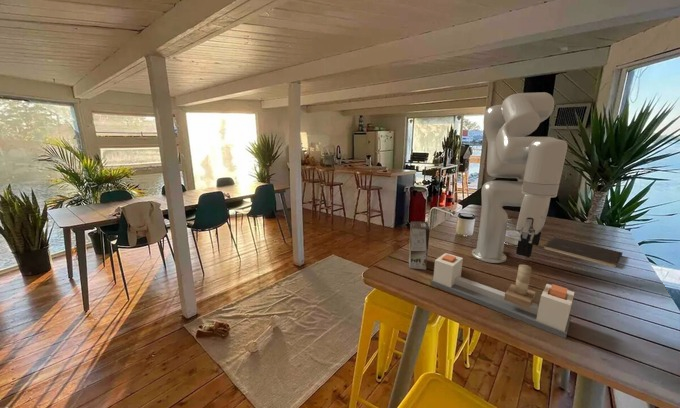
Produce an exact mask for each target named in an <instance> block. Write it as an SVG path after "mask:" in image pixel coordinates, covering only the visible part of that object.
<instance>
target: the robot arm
mask: <svg viewBox="0 0 680 408" xmlns="http://www.w3.org/2000/svg"><path fill="white" fill-rule="evenodd" d="M554 108H555V99H554V97H553V95H552V94H550V93H548V92H545V91H543V92H518V93H513V94H511V95H509V96H507V97H505V99H504V100H503V101H502V104H496V105H495V104H494V105H492V106H490V107H488V108H487V109H486V110H485V112H484V115H483V130H484V134H485V137H486V142H487V154H486V172H487V175H488V176H489V177H493V178H498V179H499V178H503V179H517V181H514V180H512V181H511V180H490V181H487V182H485V183H484V184H483V185H482V187H481V193H480V194H481V211H480V212H481V213H480V218H479V219H480V220H479V225H478V227H479V228H478V235H477V242H476V248H473V249H472V250H471V255H472V256H473V258H475V259H477V260H479V261H482V262H485V263H491V264H492V263H493V264H503V263H505V262H506V261H507V255H506V254H505V253H504V248H505V247H504V246H505V241H506V235H507V228H508V221H509V216H508V213H507V212H506V211H505V209H504V208H503V207H520V211H519V214H518V218H517V221H516V222H517V223H516V227H515V229H516V231H517V232H520V235H519V238H518V240H517V241H518V242H517V245H516V251H515V254H516V255H519V256H522V257H525V258H531V256H532V252H533V246H539V244H540V239H541V236H542V235H541V234H542V229H543V228H544V225H545V222H546V219H547V215H548V212H549V208H550V203H551V198H556V197H557V196H558V191H559V188H560V183H561V179H562V174H563V169H564V165H565V161H566V155H567V152H568V142H567V141H566V140H564V139H558V138H556V137H552V136H529V135H531V134H532V133H533V132H535V131H536V130H537V129H538V127H539V126H540V124H541V123H542V122H545V120H547V119H548V118H549V117H550V116H551V115H552V114H553V111H554V110H555V109H554Z"/></svg>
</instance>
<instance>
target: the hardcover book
mask: <svg viewBox="0 0 680 408" xmlns="http://www.w3.org/2000/svg"><path fill="white" fill-rule="evenodd" d="M543 247H544V250H547V251H552V252H556V253H559V254H562V255H563V254H564V255H566V256H569V257H573V258H579V259H580V260H585V261H589V262H593V263H596V264H599V265H605V266H608V267H611V268H616V267H617V264H618V263H619V261H620V259H621V257H622V256H623V252H621V251H617V250H612V249H609V248H605V247H600V246H596V245H591V244H588V243H587V244H586V243H583V242H579V241H574V240H570V239H567V238H562V237H557V236H553V237H552V238H551V239H550V240H548V241H547V242H546V243H544V244H543Z"/></svg>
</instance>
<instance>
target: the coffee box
mask: <svg viewBox="0 0 680 408" xmlns="http://www.w3.org/2000/svg"><path fill="white" fill-rule="evenodd" d="M430 230H431V229H430V227H429V223H428V222H427V221H410V231H409V246H408V247H409V248H408V267H409V269H417V270H427V264H428V254H429V253H428V250H429V241H430V232H431V231H430Z"/></svg>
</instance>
